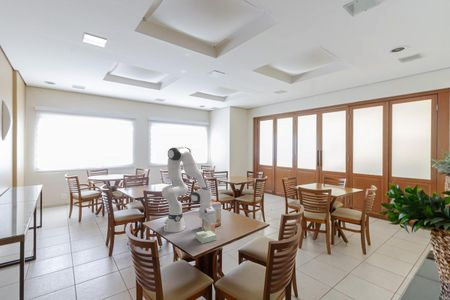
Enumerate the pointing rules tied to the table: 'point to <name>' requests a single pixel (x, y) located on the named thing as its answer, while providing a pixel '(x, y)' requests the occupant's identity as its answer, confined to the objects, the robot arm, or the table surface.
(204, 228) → the beech block
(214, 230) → the terracotta block
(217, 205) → the cracker box
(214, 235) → the sage pedestal block
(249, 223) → the table surface
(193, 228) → the table surface
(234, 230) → the table surface
